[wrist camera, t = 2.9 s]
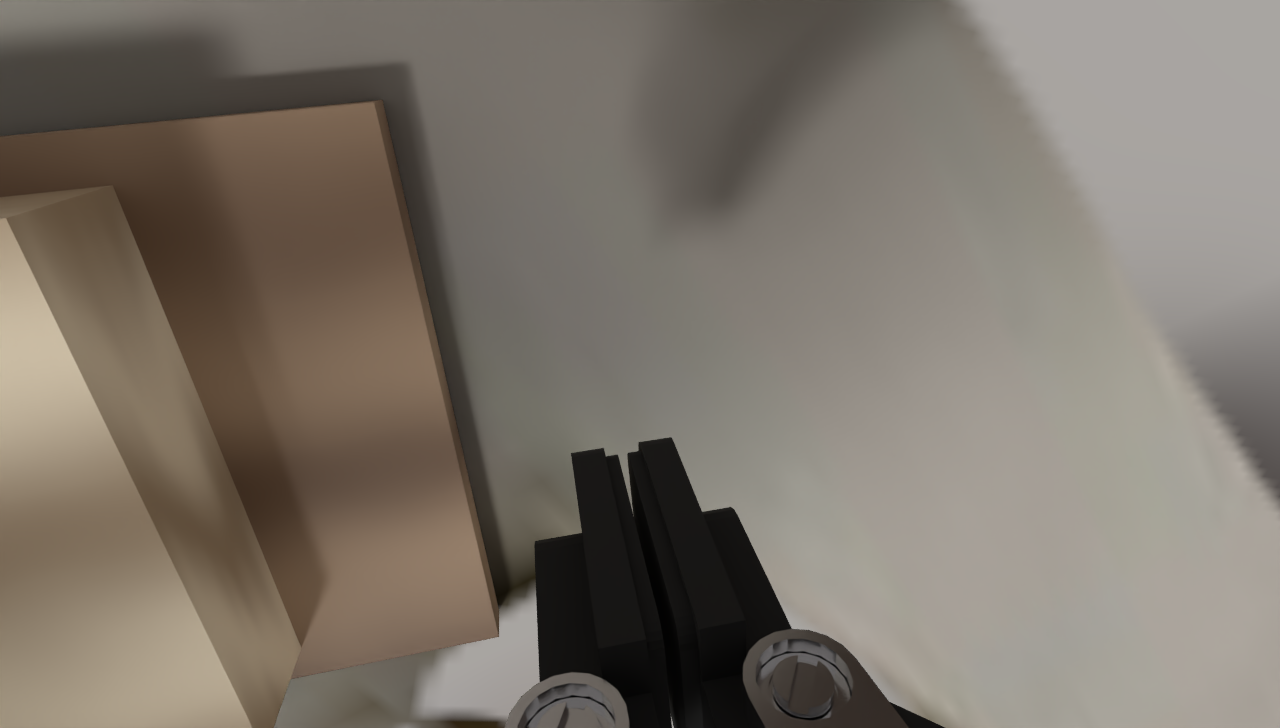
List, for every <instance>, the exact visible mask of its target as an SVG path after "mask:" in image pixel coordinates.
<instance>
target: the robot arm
mask: <svg viewBox="0 0 1280 728" xmlns="http://www.w3.org/2000/svg"><path fill="white" fill-rule="evenodd" d="M571 456H572V463H573V470H574V478H575V485H576V492H577V499H578V506H579V514H580V521H581V528H582V533H579V534H574V535H568V536H562V537H556V538H551V539H545V540H539V541H535V572H536V598H537V623H538V649H539V674H540V683H538V684H536V685H535V686H533V687H532V688H531V689H530V690H529V691H527V692H526V693H525V694H524V695H523V696H521V698H520V699H519V700H518V702H517V703H516V705H515V706H514V708H513V709H512V710H511V712H510V714H509V717H508V720H507V723H506V726H505V728H672V725H671V717H672V721H673V726H674V728H945V727H942V726H940V725H938V724H936V723H934V722H932V721H929V720H927V719H925V718H923V717H921V716H919V715H917V714H914V713H912V712H910V711H908V710H906V709H904V708H902V707H899V706H897V705H895V704H893V703H891V702H889V701H888V700H887V698H886V697H885V696H884V694H883V693H882V692H881V690H880V689H879V688H878V686H877V685H876V684H875V683H874V681H873V680H872V679H871V677H870V676H869V675H868V673H867V672H866V671H865V669H864V668H863V667H862V666H861V664H860V663H859V662H858V660H857V659H856V658H855V657H854V656H853V655H852V654H851V653H850V652H849V651H848V650H847V649H846V648H845V647H844V646H843V645H842V644H840V643H838V642H837V641H835V640H833V639H832V638H830V637H828V636H827V635H823V634H820V633H817V632H814V631H810V630H800V629H792V628H791V626H790V624H789V622H788V620H787V618H786V616H785V614H784V612H783V609H782V607H781V605H780V603H779V601H778V599H777V597H776V595H775V593H774V591H773V589H772V586H771V584H770V582H769V580H768V578H767V576H766V574H765V572H764V570H763V568H762V566H761V563H760V561H759V559H758V557H757V555H756V553H755V551H754V549H753V547H752V545H751V543H750V540H749V538H748V536H747V534H746V532H745V530H744V528H743V526H742V524H741V522H740V519H739V517H738V515H737V514H736V512H735V510H734V509H733V508H731V507H729V508H723V509H717V510H712V511H706V512H702V511H701V508H700V506H699V503H698V501H697V498H696V496H695V494H694V491H693V489H692V486H691V484H690V481H689V479H688V476H687V474H686V471H685V469H684V466H683V464H682V461H681V459H680V456H679V454H678V452H677V449H676V447H675V444H674V442H673V440H672V438H671V437H670V438H663V439H657V440H651V441H644V442H639V451H637V452H631V453H628V467H629V476H630V486H631V495H632V505H633V513H632V509H631V505H630V501H629V497H628V493H627V489H626V485H625V481H624V477H623V473H622V469H621V465H620V461H619V457H618V455H612V456H605V452H604V448H601V449H594V450H588V451H582V452H576V453H571ZM633 515H634V517H633Z"/></svg>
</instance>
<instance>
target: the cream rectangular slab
mask: <svg viewBox="0 0 1280 728" xmlns="http://www.w3.org/2000/svg"><path fill="white" fill-rule="evenodd" d="M300 650H301V646H300V644H299V641H298V639H297V636H296V634H295V631H294V629H293V626H292V624H291V621H290V619H289V617H288V614H287V612H286V609H285V607H284V604H283V602H282V599H281V597H280V594H279V592H278V590H277V587H276V585H275V582H274V580H273V577H272V575H271V572H270V570H269V567H268V565H267V563H266V560H265V558H264V555H263V553H262V550H261V548H260V545H259V543H258V541H257V538H256V536H255V533H254V531H253V528H252V526H251V523H250V521H249V518H248V516H247V514H246V511H245V509H244V506H243V504H242V501H241V499H240V496H239V494H238V491H237V489H236V487H235V484H234V482H233V479H232V477H231V474H230V472H229V469H228V467H227V465H226V462H225V460H224V457H223V455H222V452H221V450H220V447H219V445H218V442H217V440H216V438H215V435H214V433H213V430H212V428H211V425H210V423H209V420H208V418H207V415H206V413H205V411H204V408H203V406H202V403H201V401H200V398H199V396H198V393H197V391H196V388H195V386H194V384H193V381H192V379H191V376H190V374H189V371H188V369H187V366H186V364H185V362H184V359H183V357H182V354H181V352H180V349H179V347H178V344H177V342H176V339H175V337H174V335H173V332H172V330H171V327H170V325H169V322H168V320H167V317H166V315H165V312H164V310H163V308H162V305H161V303H160V300H159V298H158V295H157V293H156V290H155V288H154V286H153V283H152V281H151V278H150V276H149V273H148V271H147V268H146V266H145V263H144V261H143V259H142V256H141V254H140V251H139V249H138V246H137V244H136V241H135V239H134V236H133V234H132V232H131V229H130V227H129V224H128V222H127V219H126V217H125V214H124V212H123V209H122V207H121V205H120V202H119V200H118V197H117V195H116V192H115V190H114V187H113V185H111V186H102V187H92V188H83V189H73V190H64V191H55V192H45V193H36V194H26V195H17V196H7V197H0V728H274V725H275V722H276V719H277V716H278V713H279V710H280V707H281V705H282V702H283V699H284V696H285V693H286V690H287V687H288V684H289V682H290V679H291V676H292V673H293V670H294V667H295V664H296V661H297V659H298V656H299V653H300Z"/></svg>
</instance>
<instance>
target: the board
mask: <svg viewBox="0 0 1280 728" xmlns="http://www.w3.org/2000/svg"><path fill="white" fill-rule="evenodd" d="M111 185H113V187H114V190H115V192H116V195H117V197H118V200H119V202H120V205H121V207H122V209H123V212H124V214H125V217H126V219H127V222H128V224H129V227H130V229H131V232H132V234H133V236H134V239H135V241H136V244H137V246H138V249H139V251H140V254H141V256H142V259H143V261H144V263H145V266H146V268H147V271H148V273H149V276H150V278H151V281H152V283H153V286H154V288H155V290H156V293H157V295H158V298H159V300H160V303H161V305H162V308H163V310H164V312H165V315H166V317H167V320H168V322H169V325H170V327H171V330H172V332H173V335H174V337H175V339H176V342H177V344H178V347H179V349H180V352H181V354H182V357H183V359H184V362H185V364H186V366H187V369H188V371H189V374H190V376H191V379H192V381H193V384H194V386H195V388H196V391H197V393H198V396H199V398H200V401H201V403H202V406H203V408H204V411H205V413H206V415H207V418H208V420H209V423H210V425H211V428H212V430H213V433H214V435H215V438H216V440H217V442H218V445H219V447H220V450H221V452H222V455H223V457H224V460H225V462H226V465H227V467H228V469H229V472H230V474H231V477H232V479H233V482H234V484H235V487H236V489H237V491H238V494H239V496H240V499H241V501H242V504H243V506H244V509H245V511H246V514H247V516H248V518H249V521H250V523H251V526H252V528H253V531H254V533H255V536H256V538H257V541H258V543H259V545H260V548H261V550H262V553H263V555H264V558H265V560H266V563H267V565H268V567H269V570H270V572H271V575H272V577H273V580H274V582H275V585H276V587H277V590H278V592H279V594H280V597H281V599H282V602H283V604H284V607H285V609H286V612H287V614H288V617H289V619H290V621H291V624H292V626H293V629H294V631H295V634H296V636H297V639H298V641H299V644H300V646H301V650H300V653H299V656H298V659H297V661H296V664H295V667H294V670H293V673H292V676H291V679H293V678H298V677H303V676H308V675H313V674H318V673H323V672H328V671H333V670H338V669H343V668H347V667H352V666H357V665H362V664H367V663H372V662H377V661H382V660H387V659H392V658H397V657H402V656H407V655H412V654H417V653H421V652H426V651H431V650H436V649H441V648H446V647H451V646H456V645H461V644H466V643H471V642H476V641H481V640H486V639H490V638H495V637H499V608H498V604H497V599H496V595H495V590H494V586H493V582H492V577H491V573H490V569H489V564H488V560H487V555H486V551H485V547H484V542H483V538H482V533H481V529H480V525H479V520H478V516H477V512H476V507H475V503H474V498H473V494H472V490H471V485H470V481H469V477H468V472H467V468H466V463H465V459H464V455H463V450H462V446H461V442H460V437H459V433H458V428H457V424H456V420H455V415H454V411H453V406H452V402H451V398H450V393H449V389H448V385H447V380H446V376H445V371H444V367H443V363H442V358H441V354H440V350H439V345H438V341H437V336H436V332H435V328H434V323H433V319H432V315H431V310H430V306H429V301H428V297H427V293H426V288H425V284H424V279H423V275H422V271H421V266H420V262H419V258H418V253H417V249H416V244H415V240H414V236H413V231H412V227H411V223H410V218H409V214H408V209H407V205H406V201H405V196H404V192H403V188H402V183H401V179H400V174H399V170H398V166H397V161H396V157H395V152H394V148H393V144H392V139H391V135H390V131H389V126H388V122H387V117H386V113H385V109H384V104H383V100H375V101H365V102H354V103H344V104H333V105H323V106H312V107H302V108H291V109H281V110H270V111H260V112H249V113H239V114H228V115H218V116H207V117H197V118H186V119H176V120H165V121H155V122H144V123H134V124H123V125H113V126H102V127H92V128H81V129H71V130H60V131H50V132H39V133H29V134H18V135H8V136H0V197H7V196H17V195H26V194H36V193H45V192H55V191H64V190H73V189H83V188H92V187H102V186H111Z"/></svg>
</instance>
